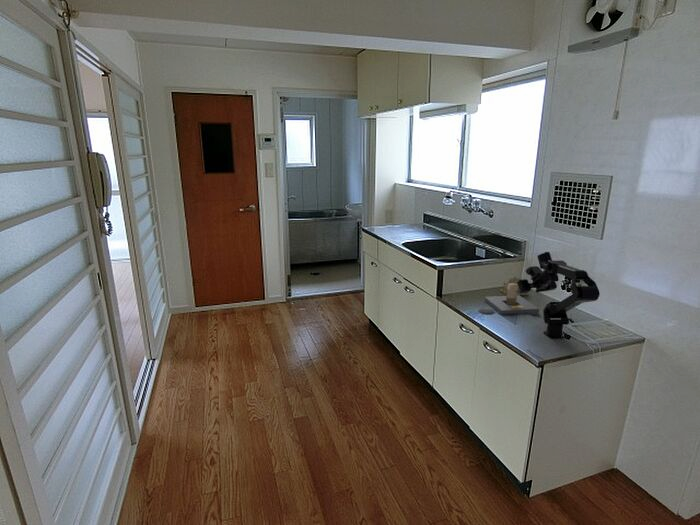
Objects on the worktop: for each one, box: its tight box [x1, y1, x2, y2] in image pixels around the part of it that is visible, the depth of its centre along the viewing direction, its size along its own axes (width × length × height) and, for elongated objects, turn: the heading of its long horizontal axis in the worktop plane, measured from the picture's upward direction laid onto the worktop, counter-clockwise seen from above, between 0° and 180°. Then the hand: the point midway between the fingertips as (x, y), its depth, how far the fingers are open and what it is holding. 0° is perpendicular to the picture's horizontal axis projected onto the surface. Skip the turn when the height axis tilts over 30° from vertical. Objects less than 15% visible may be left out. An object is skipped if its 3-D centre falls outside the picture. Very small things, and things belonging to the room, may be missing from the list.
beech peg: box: [506, 283, 518, 305], centre depth 208 cm, size 5×5×13 cm
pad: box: [478, 308, 496, 316], centre depth 203 cm, size 8×8×1 cm
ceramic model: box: [499, 276, 528, 296], centre depth 232 cm, size 14×11×10 cm
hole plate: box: [484, 295, 540, 315], centre depth 210 cm, size 20×20×3 cm
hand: (528, 292), depth 197 cm, fingers open, 9 cm apart
